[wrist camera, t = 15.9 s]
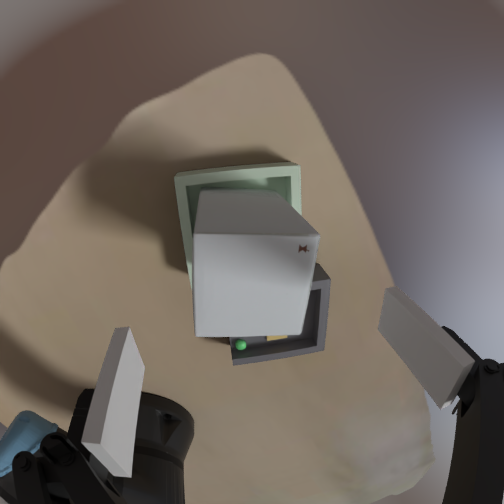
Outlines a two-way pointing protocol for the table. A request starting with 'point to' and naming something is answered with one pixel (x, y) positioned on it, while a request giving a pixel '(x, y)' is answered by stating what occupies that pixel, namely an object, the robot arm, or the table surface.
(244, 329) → the supplement box
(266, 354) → the dark gray open-sided tray
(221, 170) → the trough tray
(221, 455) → the table surface
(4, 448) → the robot arm
